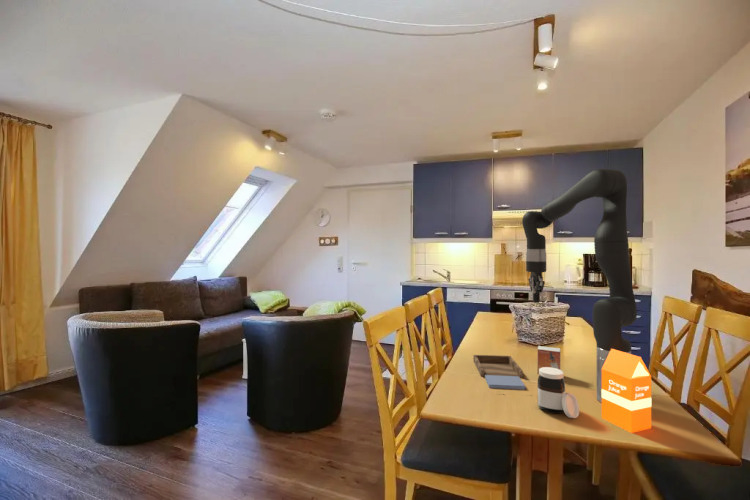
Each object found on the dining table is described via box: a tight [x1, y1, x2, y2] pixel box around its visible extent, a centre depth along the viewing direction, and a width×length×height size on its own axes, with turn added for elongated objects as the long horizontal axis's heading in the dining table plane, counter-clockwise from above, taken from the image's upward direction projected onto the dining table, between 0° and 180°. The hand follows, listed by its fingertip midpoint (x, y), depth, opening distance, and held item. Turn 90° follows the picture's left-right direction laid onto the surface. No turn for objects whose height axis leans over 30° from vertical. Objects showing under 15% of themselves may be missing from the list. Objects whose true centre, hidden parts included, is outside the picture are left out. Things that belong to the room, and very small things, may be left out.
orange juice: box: [601, 349, 653, 434], centre depth 100 cm, size 8×9×20 cm
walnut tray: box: [473, 354, 524, 379], centre depth 142 cm, size 18×15×4 cm
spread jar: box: [537, 367, 580, 419], centre depth 108 cm, size 12×11×12 cm
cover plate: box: [484, 375, 526, 390], centre depth 127 cm, size 9×12×2 cm
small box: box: [536, 345, 561, 375], centre depth 137 cm, size 8×6×10 cm
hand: (536, 302), depth 144 cm, fingers closed
